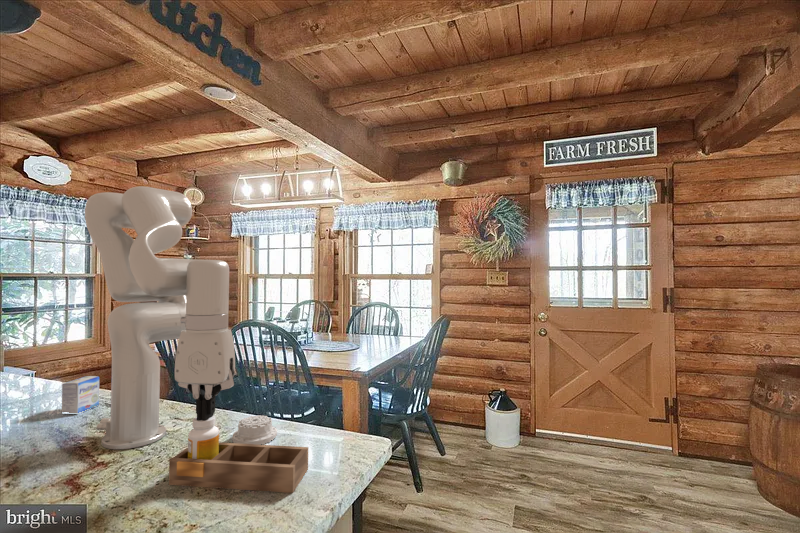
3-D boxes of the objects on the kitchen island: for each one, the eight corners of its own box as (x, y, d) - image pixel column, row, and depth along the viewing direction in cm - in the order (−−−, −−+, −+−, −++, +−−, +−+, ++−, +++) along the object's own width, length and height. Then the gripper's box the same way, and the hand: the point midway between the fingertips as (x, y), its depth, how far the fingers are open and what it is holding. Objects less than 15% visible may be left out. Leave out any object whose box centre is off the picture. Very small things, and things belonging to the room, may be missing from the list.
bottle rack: (167, 486, 74) (167, 461, 74) (196, 463, 83) (196, 441, 83) (292, 494, 72) (292, 468, 72) (308, 469, 80) (308, 447, 81)
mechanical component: (223, 445, 92) (263, 449, 90) (223, 425, 92) (263, 429, 90) (247, 429, 102) (284, 432, 100) (248, 411, 102) (284, 414, 100)
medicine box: (77, 415, 109) (78, 383, 109) (60, 415, 109) (61, 383, 109) (99, 405, 117) (100, 375, 117) (84, 405, 117) (84, 375, 117)
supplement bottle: (224, 463, 80) (225, 414, 80) (206, 476, 75) (207, 424, 75) (199, 460, 81) (200, 412, 81) (180, 473, 76) (182, 421, 76)
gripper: (158, 324, 75) (155, 423, 75) (234, 326, 74) (232, 427, 74) (183, 320, 83) (181, 409, 83) (253, 321, 82) (251, 413, 81)
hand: (205, 417), depth 78 cm, fingers closed
